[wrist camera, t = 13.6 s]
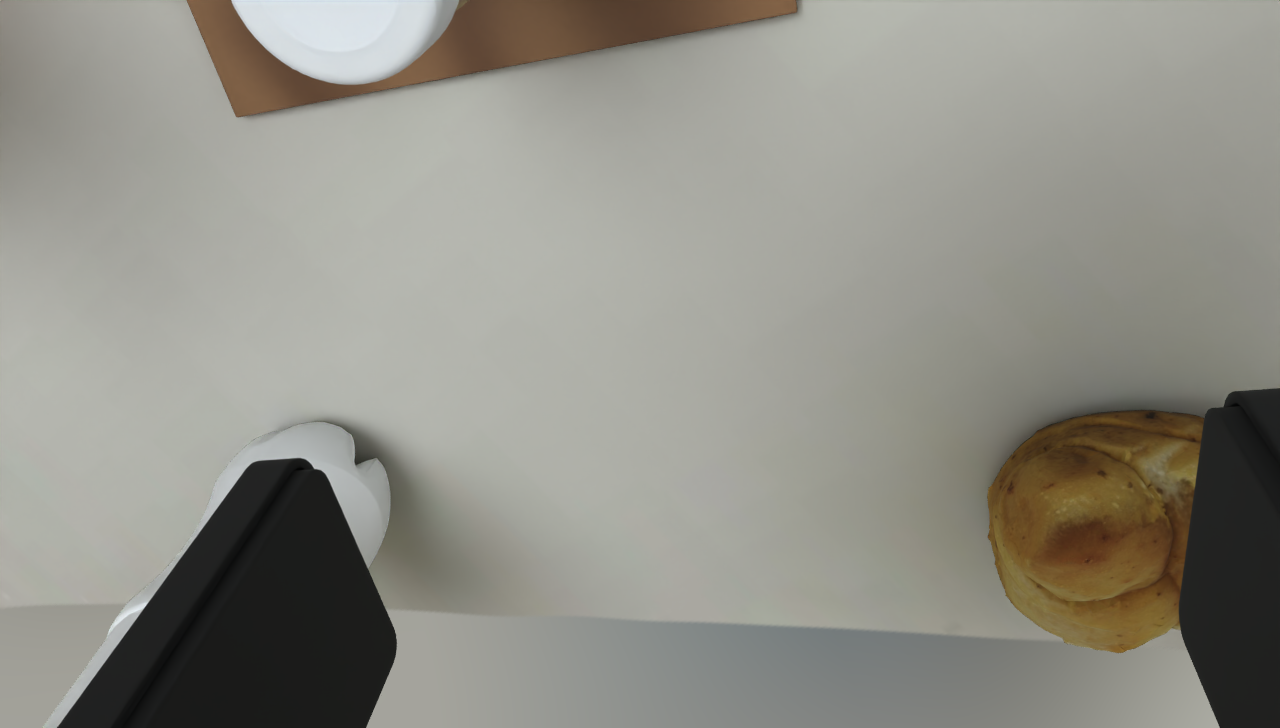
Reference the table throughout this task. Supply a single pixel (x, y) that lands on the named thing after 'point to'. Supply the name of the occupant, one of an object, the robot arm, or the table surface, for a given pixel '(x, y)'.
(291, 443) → the water bottle
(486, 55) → the wooden board
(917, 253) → the table surface
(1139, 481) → the bread roll
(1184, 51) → the table surface
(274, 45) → the spice jar
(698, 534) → the table surface
